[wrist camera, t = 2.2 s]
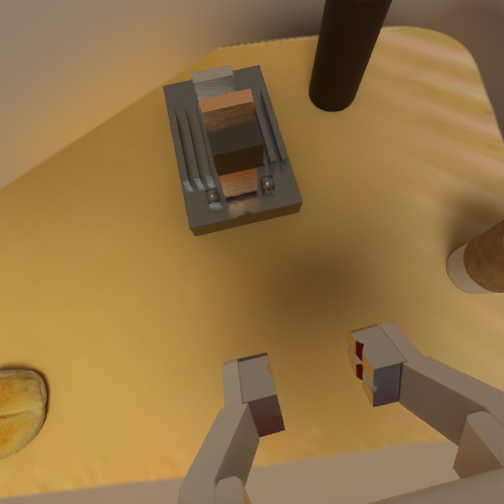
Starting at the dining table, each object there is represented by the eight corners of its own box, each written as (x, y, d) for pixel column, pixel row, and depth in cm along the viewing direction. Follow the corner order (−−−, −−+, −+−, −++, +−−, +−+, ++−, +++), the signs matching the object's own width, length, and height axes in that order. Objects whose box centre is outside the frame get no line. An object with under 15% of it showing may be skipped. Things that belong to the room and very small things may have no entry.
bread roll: (-30, 455, 33) (-69, 471, 29) (-10, 368, 35) (-44, 372, 31) (43, 456, 32) (13, 472, 28) (57, 368, 35) (32, 372, 31)
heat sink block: (299, 211, 39) (305, 188, 33) (195, 236, 38) (182, 217, 32) (259, 82, 45) (258, 41, 39) (169, 102, 44) (154, 64, 38)
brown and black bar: (263, 214, 35) (263, 134, 21) (230, 222, 35) (209, 146, 21) (255, 184, 36) (250, 88, 22) (223, 191, 36) (198, 100, 22)
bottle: (363, 102, 43) (443, -85, 24) (321, 119, 43) (370, -58, 23) (340, 69, 45) (398, -129, 26) (300, 85, 44) (329, -106, 25)
